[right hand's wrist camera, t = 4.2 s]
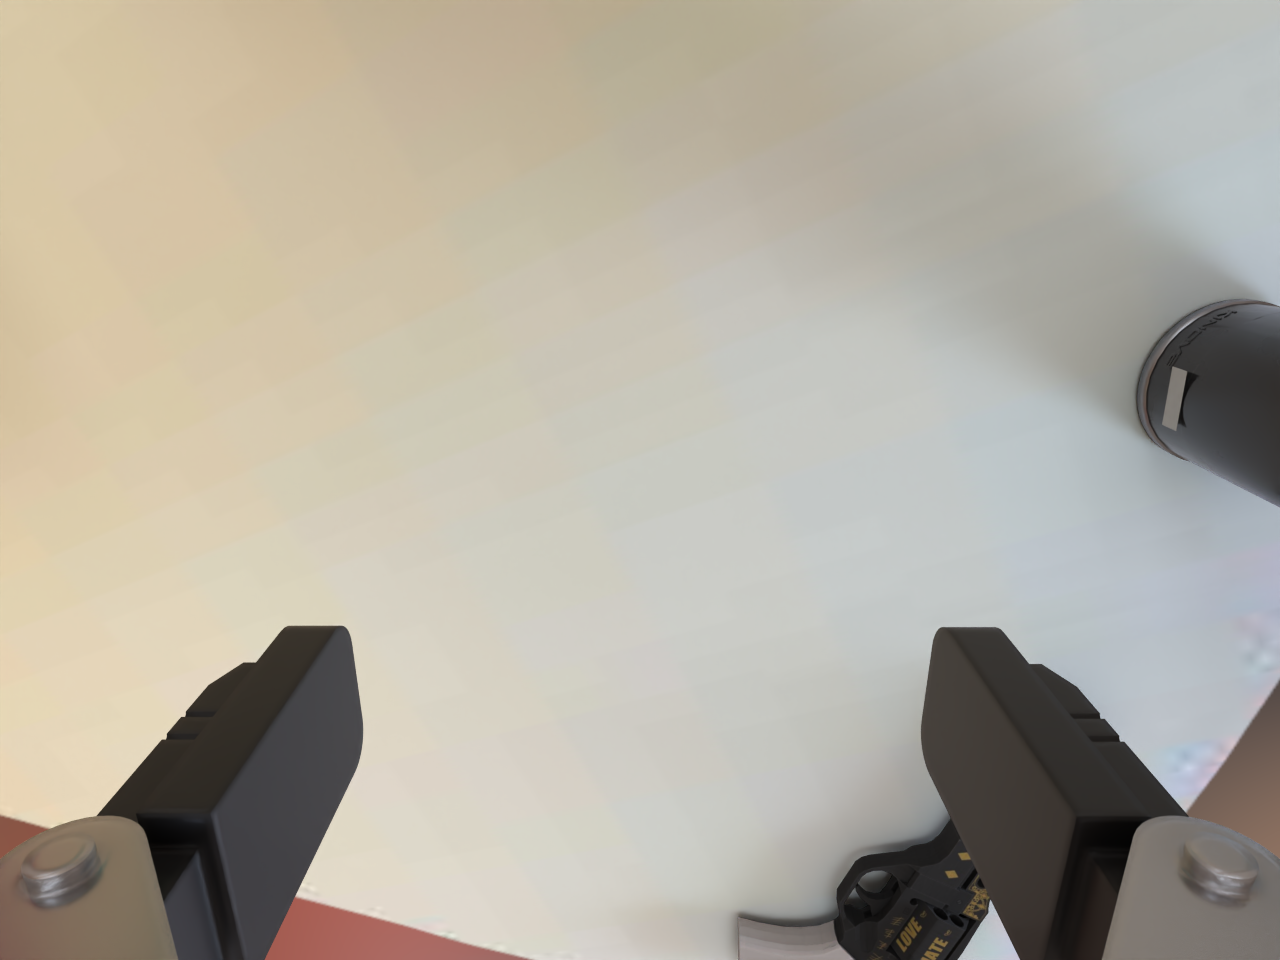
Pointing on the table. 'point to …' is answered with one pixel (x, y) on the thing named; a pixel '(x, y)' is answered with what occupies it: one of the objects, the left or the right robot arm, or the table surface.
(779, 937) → the decorative firearm
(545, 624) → the table surface
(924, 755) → the right robot arm
